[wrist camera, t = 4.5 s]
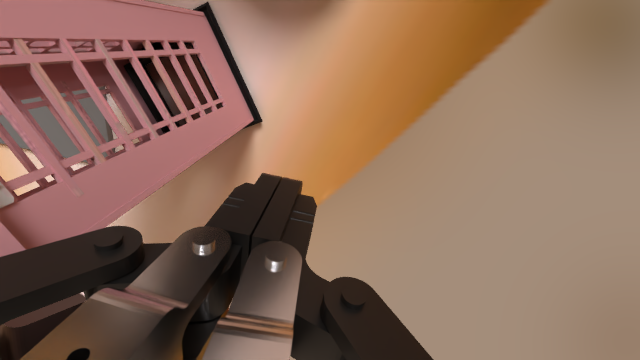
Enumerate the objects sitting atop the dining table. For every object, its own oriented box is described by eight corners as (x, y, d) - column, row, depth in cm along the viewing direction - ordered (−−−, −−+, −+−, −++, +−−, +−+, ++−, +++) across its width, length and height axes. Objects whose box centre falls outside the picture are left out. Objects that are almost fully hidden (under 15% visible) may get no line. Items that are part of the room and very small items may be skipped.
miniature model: (180, 154, 26) (-209, 419, 8) (111, 48, 22) (-824, 112, 5) (268, 117, 23) (-17, 386, 6) (207, -8, 20) (-1029, -322, 2)
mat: (76, -82, 19) (69, -85, 18) (117, 166, 27) (113, 168, 27) (-99, -118, 19) (-109, -121, 19) (-5, 138, 28) (-11, 140, 27)
